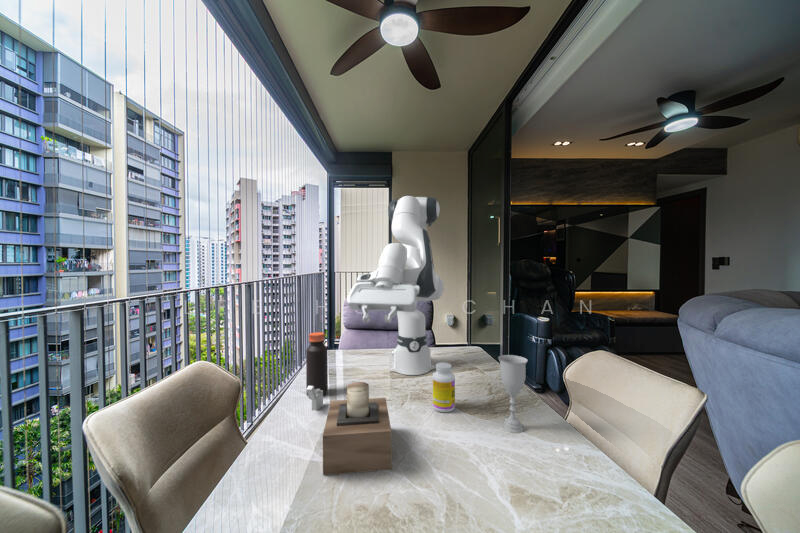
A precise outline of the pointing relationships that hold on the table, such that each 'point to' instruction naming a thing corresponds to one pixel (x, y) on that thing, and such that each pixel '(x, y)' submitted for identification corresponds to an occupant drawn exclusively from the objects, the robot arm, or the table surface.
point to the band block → (357, 439)
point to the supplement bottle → (443, 388)
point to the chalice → (512, 386)
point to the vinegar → (317, 363)
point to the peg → (357, 400)
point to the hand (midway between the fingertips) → (376, 321)
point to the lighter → (315, 397)
